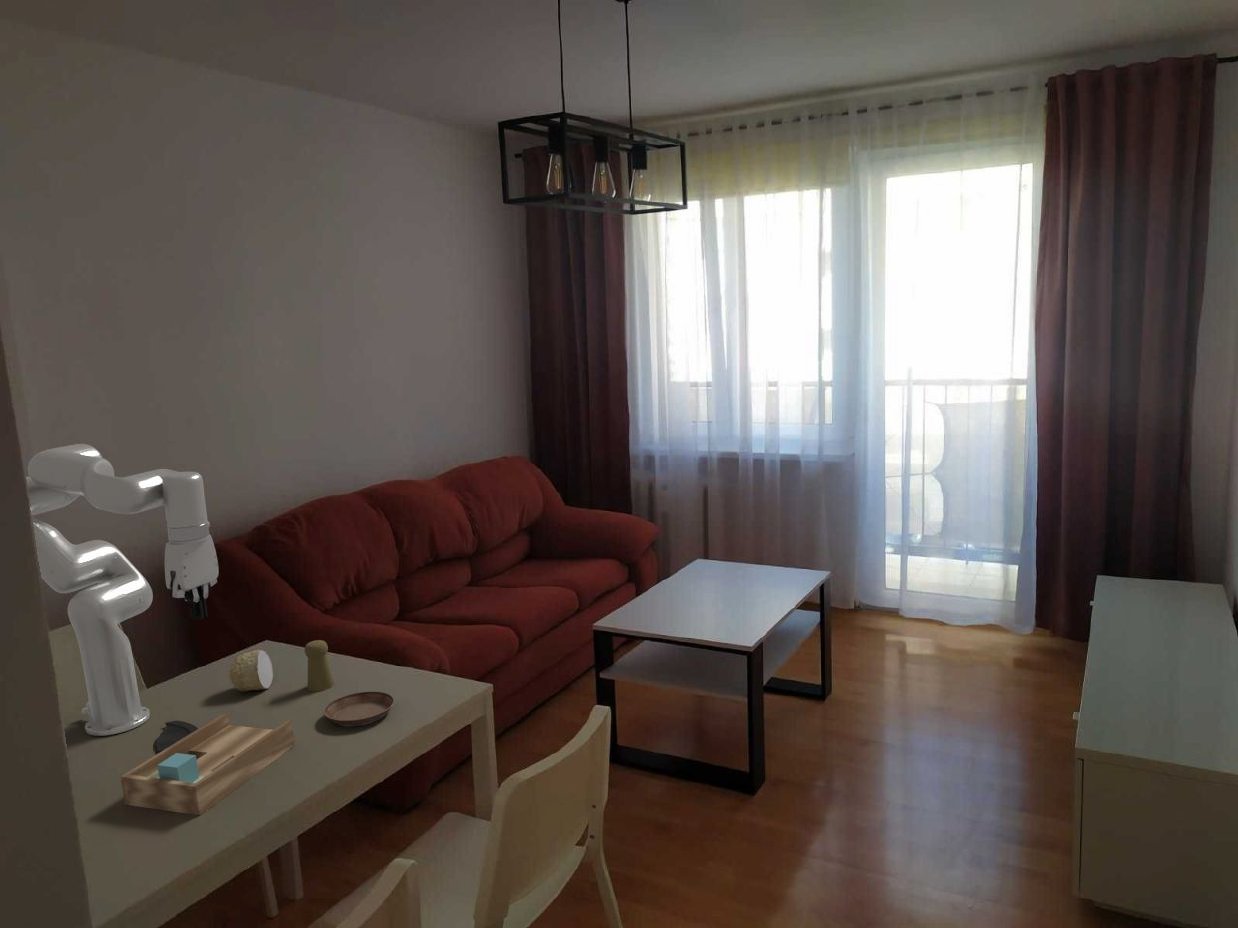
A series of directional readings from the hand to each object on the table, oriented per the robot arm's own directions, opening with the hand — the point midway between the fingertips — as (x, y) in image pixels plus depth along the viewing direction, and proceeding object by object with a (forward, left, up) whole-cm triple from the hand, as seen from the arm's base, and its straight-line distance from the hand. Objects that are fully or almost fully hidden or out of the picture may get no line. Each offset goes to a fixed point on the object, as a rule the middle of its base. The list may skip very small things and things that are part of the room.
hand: (198, 617), depth 186 cm
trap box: (+13, -15, -26) cm, 32 cm away
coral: (-8, +21, -26) cm, 34 cm away
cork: (+8, +25, -26) cm, 37 cm away
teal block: (+14, -23, -23) cm, 35 cm away
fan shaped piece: (-6, -3, -26) cm, 27 cm away
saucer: (+27, +13, -26) cm, 40 cm away
